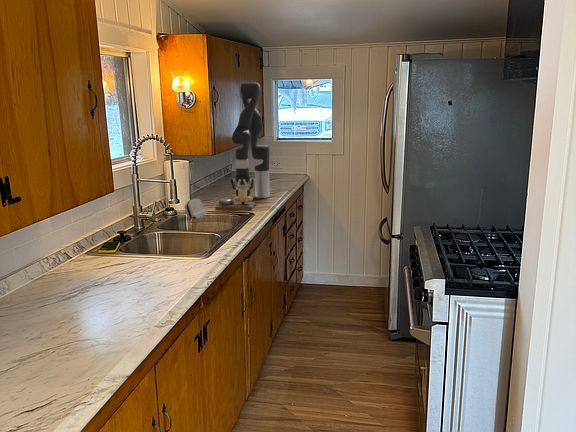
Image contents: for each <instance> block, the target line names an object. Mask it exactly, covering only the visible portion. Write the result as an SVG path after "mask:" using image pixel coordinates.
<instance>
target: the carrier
mask: <svg viewBox="0 0 576 432" xmlns="http://www.w3.org/2000/svg"><path fill="white" fill-rule="evenodd" d="M255 207H256V201H247V202H245V205H242V202H241V201H238V202H237V201H234V204H233V205H229V206H228V205H227V206H224V205H222V206H221V205H219V203H218V204H217V205H215V206H214V208H215V209H214V210H215V211H253V209H254V208H255Z"/></svg>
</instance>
